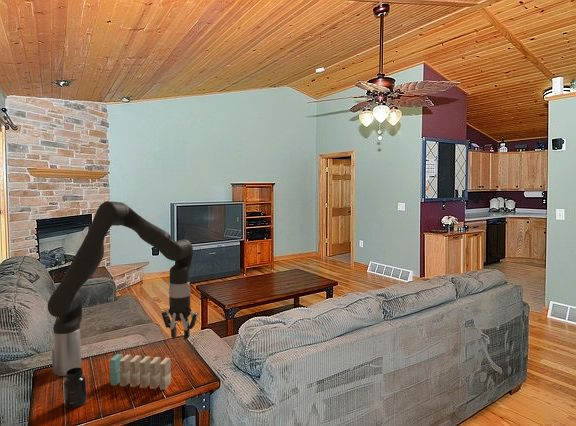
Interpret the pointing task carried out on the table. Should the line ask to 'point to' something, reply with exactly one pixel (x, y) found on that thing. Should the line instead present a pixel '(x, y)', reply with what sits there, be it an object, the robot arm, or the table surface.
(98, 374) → the table surface
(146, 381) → the domino
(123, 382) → the domino
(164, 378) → the domino
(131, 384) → the domino
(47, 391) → the table surface
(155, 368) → the domino
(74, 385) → the supplement bottle
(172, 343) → the table surface
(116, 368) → the domino
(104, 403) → the table surface
